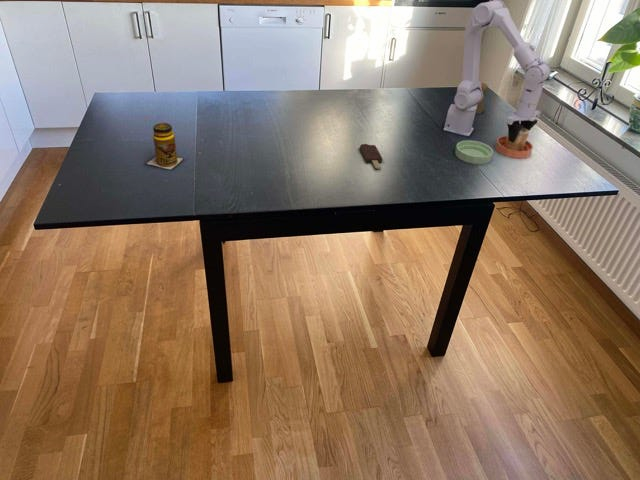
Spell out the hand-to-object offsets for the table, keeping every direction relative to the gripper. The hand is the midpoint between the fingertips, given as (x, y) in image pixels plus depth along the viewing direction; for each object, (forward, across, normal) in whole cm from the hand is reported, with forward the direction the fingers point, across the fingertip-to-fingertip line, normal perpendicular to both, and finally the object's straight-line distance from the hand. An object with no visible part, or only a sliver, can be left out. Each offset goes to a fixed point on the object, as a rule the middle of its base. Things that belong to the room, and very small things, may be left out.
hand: (516, 139), depth 172 cm
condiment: (+5, -108, +44) cm, 116 cm away
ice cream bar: (+5, -48, +17) cm, 51 cm away
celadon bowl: (+4, -16, +4) cm, 17 cm away
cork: (+5, +14, +31) cm, 35 cm away
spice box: (+3, 0, 0) cm, 3 cm away
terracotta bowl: (+4, 0, 0) cm, 4 cm away
